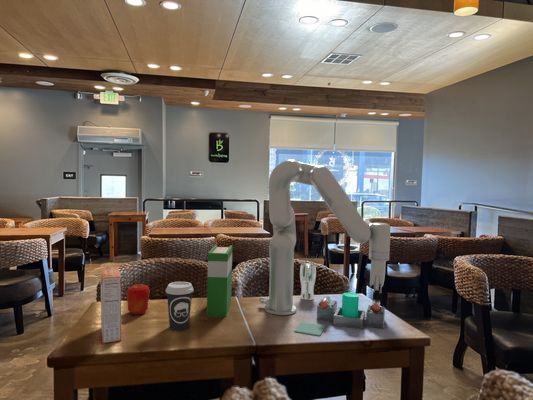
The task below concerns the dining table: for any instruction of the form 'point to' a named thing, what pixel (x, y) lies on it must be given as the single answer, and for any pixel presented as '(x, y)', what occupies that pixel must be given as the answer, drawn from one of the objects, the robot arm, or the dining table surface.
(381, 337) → the dining table surface
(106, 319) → the cracker box
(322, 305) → the left plunger
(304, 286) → the beer glass
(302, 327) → the pad
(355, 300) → the candle
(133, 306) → the apple
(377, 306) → the right plunger
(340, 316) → the housing
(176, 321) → the coffee cup
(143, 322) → the dining table surface
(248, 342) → the dining table surface
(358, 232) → the robot arm
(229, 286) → the hardback book
